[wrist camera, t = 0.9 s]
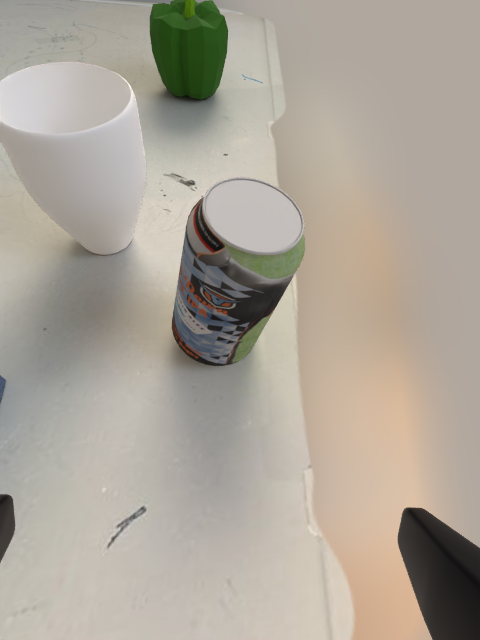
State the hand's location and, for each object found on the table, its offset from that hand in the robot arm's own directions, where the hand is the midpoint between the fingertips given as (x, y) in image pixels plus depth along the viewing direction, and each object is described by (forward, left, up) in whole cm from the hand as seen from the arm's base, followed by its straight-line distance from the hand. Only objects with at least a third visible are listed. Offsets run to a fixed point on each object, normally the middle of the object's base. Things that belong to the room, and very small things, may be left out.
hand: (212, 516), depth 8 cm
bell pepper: (+47, -1, -14) cm, 49 cm away
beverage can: (+13, -2, -14) cm, 19 cm away
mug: (+25, +7, -14) cm, 29 cm away
